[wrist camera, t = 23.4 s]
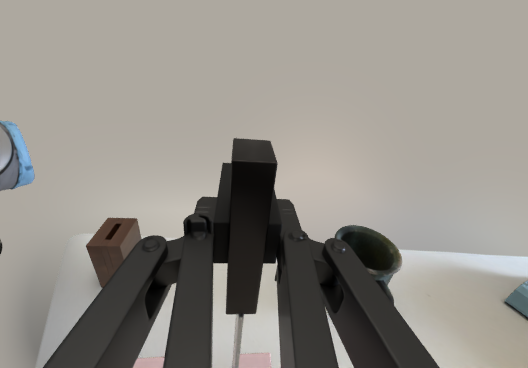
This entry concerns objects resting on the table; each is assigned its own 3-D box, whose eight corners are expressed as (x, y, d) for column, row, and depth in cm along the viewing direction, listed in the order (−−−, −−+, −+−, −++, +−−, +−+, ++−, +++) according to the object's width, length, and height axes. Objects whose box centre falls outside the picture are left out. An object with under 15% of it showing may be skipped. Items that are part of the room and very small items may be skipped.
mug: (360, 267, 51) (378, 224, 45) (401, 338, 39) (434, 292, 33) (312, 268, 50) (325, 224, 44) (339, 343, 37) (363, 295, 31)
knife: (222, 406, 20) (231, 162, 9) (224, 365, 23) (233, 136, 11) (243, 405, 20) (278, 164, 9) (243, 365, 23) (270, 138, 12)
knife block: (101, 287, 41) (85, 245, 36) (119, 256, 47) (107, 217, 42) (131, 287, 42) (119, 246, 37) (145, 257, 48) (137, 218, 43)
